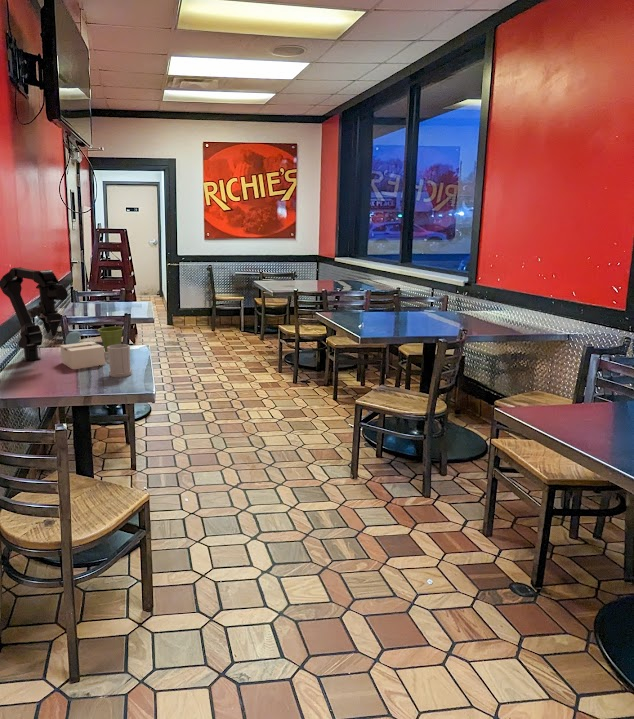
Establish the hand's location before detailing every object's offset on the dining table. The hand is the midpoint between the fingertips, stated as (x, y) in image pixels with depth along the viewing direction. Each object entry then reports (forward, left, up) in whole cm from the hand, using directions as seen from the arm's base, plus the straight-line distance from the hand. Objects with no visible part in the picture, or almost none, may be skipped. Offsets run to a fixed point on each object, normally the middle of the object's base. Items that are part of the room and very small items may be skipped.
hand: (50, 334), depth 282 cm
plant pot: (-7, +29, -13) cm, 33 cm away
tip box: (+10, +10, -13) cm, 19 cm away
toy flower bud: (-25, +19, -13) cm, 34 cm away
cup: (+40, +15, -13) cm, 45 cm away
